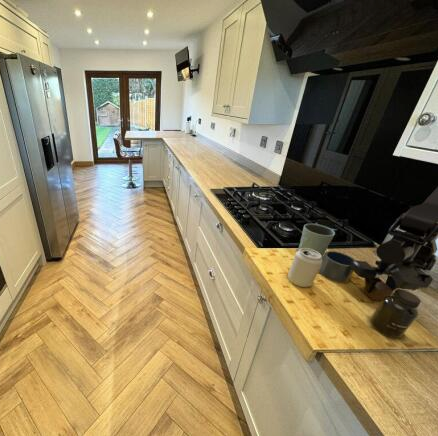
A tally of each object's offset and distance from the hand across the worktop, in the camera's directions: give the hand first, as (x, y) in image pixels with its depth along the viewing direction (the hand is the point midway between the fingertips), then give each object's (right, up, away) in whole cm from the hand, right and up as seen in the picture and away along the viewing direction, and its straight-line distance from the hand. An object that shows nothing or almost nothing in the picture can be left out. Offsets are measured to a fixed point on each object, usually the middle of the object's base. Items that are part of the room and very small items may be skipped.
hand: (375, 293), depth 76 cm
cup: (-6, +4, +10) cm, 12 cm away
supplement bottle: (-8, -6, -11) cm, 15 cm away
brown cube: (0, -1, 0) cm, 1 cm away
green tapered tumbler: (-7, +9, +21) cm, 24 cm away
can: (-21, +2, +6) cm, 22 cm away
